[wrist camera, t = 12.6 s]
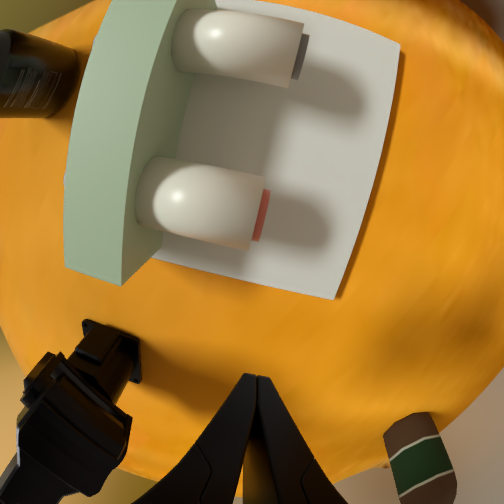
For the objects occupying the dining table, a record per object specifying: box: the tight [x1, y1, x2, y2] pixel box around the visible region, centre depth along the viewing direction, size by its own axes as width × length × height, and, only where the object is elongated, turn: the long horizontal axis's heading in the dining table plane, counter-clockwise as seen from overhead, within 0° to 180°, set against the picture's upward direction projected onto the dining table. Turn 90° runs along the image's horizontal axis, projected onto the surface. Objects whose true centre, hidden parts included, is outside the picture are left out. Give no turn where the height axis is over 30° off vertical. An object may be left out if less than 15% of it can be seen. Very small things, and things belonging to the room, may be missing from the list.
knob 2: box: [64, 156, 271, 251], centre depth 14 cm, size 12×4×4 cm, turn 77°
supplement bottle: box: [0, 29, 79, 118], centre depth 9 cm, size 7×7×12 cm
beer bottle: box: [383, 412, 457, 504], centre depth 16 cm, size 8×8×24 cm
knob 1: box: [92, 9, 310, 88], centre depth 11 cm, size 12×4×4 cm, turn 77°
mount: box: [63, 0, 400, 300], centre depth 13 cm, size 20×18×7 cm
